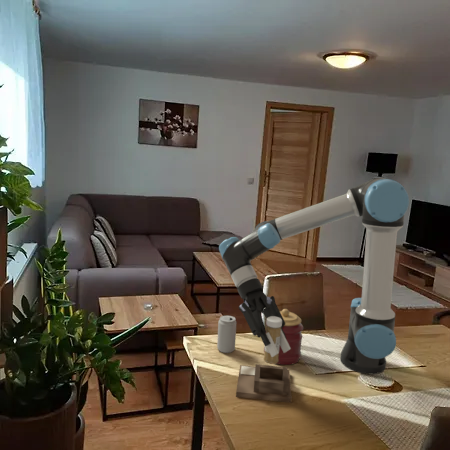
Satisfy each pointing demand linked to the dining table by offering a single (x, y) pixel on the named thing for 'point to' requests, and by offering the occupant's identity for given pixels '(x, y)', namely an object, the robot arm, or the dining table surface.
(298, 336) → the canister
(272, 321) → the sprinkles bottle
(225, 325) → the beverage can
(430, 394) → the dining table surface
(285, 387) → the spice caddy
